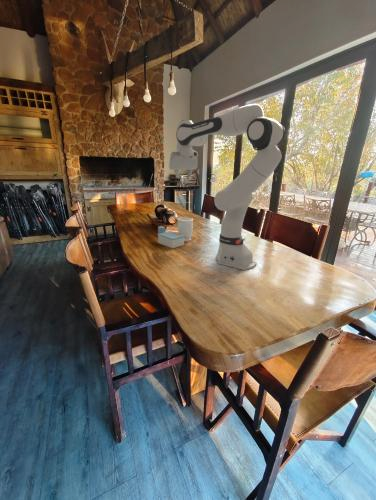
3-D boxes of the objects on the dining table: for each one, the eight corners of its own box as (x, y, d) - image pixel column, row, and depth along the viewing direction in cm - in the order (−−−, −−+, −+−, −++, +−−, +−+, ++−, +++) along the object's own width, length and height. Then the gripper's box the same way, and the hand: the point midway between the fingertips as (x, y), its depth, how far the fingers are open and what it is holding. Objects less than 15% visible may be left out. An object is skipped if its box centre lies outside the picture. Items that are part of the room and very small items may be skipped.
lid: (185, 237, 151) (185, 230, 150) (172, 241, 144) (172, 233, 142) (165, 231, 163) (165, 225, 161) (153, 234, 156) (153, 227, 154)
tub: (184, 245, 153) (184, 236, 151) (172, 249, 146) (172, 240, 144) (169, 240, 162) (169, 232, 160) (158, 243, 155) (158, 235, 153)
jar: (193, 238, 169) (193, 217, 164) (192, 242, 159) (192, 220, 154) (178, 237, 170) (178, 216, 164) (176, 241, 160) (176, 220, 155)
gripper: (174, 151, 126) (174, 178, 131) (199, 153, 140) (198, 177, 145) (166, 151, 130) (166, 177, 135) (192, 153, 144) (191, 176, 149)
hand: (183, 177), depth 140 cm, fingers open, 8 cm apart
